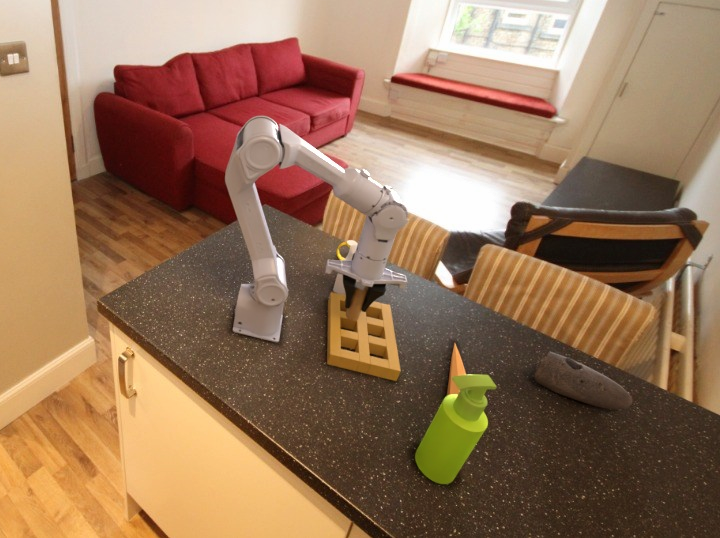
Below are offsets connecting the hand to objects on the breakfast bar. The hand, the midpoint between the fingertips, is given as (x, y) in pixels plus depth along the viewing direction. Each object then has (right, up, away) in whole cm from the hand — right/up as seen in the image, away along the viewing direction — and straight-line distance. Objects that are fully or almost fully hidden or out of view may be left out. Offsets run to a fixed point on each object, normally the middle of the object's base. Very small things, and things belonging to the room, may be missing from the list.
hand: (354, 306), depth 88 cm
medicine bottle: (+5, 0, +17) cm, 17 cm away
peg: (0, -2, +1) cm, 3 cm away
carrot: (+18, -13, -4) cm, 23 cm away
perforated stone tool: (+39, -16, -5) cm, 43 cm away
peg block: (+2, -7, +4) cm, 8 cm away
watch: (+6, +5, +26) cm, 27 cm away
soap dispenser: (+6, -20, -19) cm, 28 cm away
